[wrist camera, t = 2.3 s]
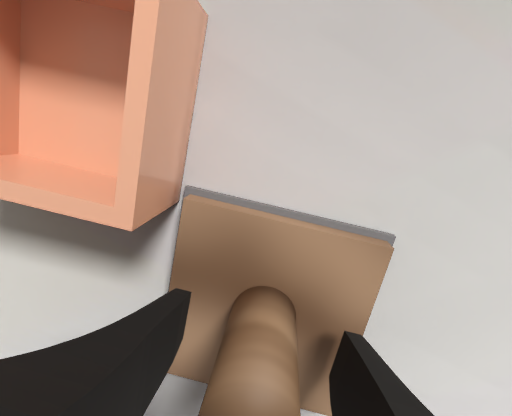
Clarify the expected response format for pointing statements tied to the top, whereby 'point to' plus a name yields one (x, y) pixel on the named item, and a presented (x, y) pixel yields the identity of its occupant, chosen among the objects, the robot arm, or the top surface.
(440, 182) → the top surface
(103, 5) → the open box
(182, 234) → the lid
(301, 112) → the top surface
